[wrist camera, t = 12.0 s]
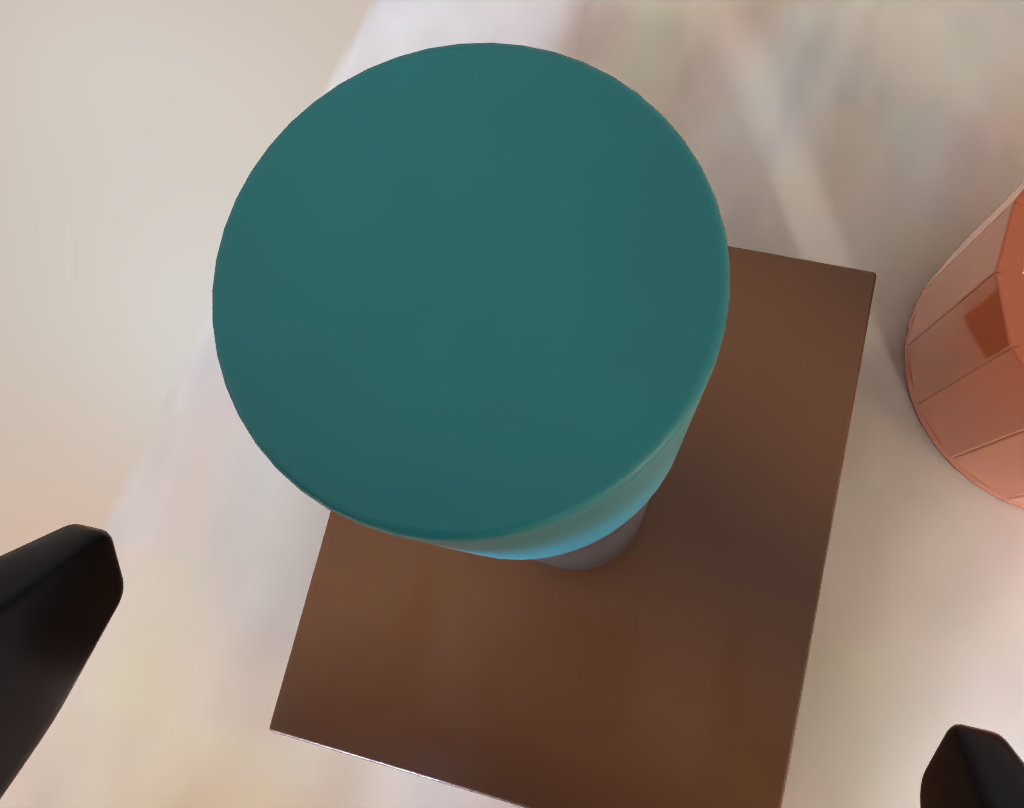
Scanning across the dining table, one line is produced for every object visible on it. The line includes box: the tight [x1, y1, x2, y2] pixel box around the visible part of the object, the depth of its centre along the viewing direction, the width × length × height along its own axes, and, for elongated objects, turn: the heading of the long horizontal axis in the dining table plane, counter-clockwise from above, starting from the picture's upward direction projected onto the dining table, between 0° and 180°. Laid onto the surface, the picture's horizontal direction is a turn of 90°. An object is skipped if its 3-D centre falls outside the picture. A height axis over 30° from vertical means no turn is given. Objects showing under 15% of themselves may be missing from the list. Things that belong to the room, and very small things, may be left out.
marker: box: [213, 43, 730, 570], centre depth 11 cm, size 3×3×13 cm
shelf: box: [270, 246, 876, 808], centre depth 19 cm, size 12×10×4 cm
